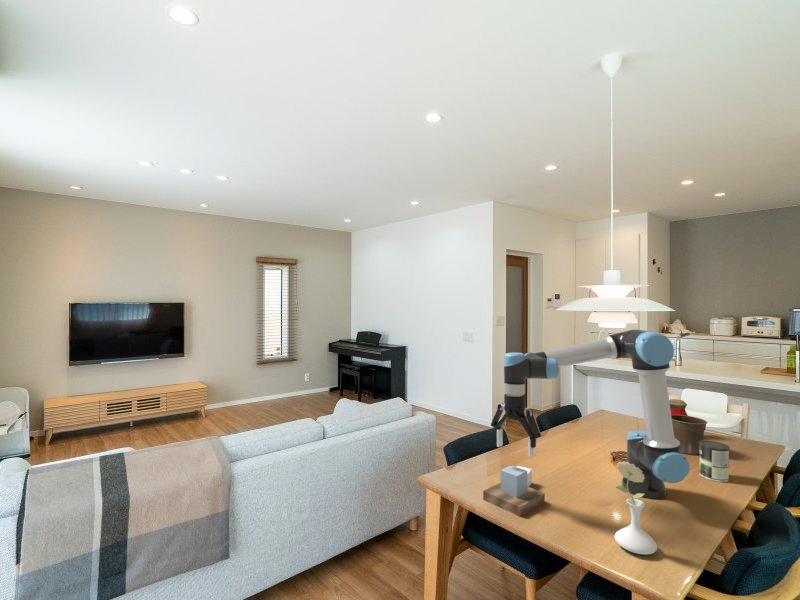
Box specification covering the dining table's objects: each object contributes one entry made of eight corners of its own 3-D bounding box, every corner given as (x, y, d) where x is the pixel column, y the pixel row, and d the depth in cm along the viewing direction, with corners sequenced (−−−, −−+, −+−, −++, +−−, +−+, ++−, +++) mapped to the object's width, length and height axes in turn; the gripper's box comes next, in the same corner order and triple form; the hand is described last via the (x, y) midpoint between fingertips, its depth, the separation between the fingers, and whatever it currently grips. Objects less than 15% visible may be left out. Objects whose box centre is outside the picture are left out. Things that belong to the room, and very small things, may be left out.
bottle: (686, 433, 237) (687, 398, 237) (698, 440, 224) (698, 404, 224) (656, 430, 240) (656, 396, 240) (665, 438, 227) (665, 402, 227)
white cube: (531, 483, 170) (531, 469, 170) (527, 489, 165) (527, 474, 165) (517, 479, 173) (517, 465, 173) (512, 485, 168) (512, 470, 168)
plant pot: (696, 446, 215) (696, 415, 215) (714, 457, 199) (714, 424, 199) (662, 444, 218) (662, 413, 218) (677, 455, 202) (677, 422, 202)
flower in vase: (666, 555, 122) (667, 471, 122) (636, 561, 119) (636, 475, 119) (630, 531, 135) (631, 455, 135) (601, 536, 132) (602, 458, 132)
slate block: (527, 492, 154) (527, 471, 154) (516, 498, 150) (516, 476, 150) (511, 486, 160) (511, 465, 160) (500, 491, 155) (500, 470, 155)
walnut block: (544, 503, 154) (544, 493, 154) (520, 518, 143) (520, 507, 143) (508, 488, 166) (508, 478, 166) (483, 501, 155) (483, 490, 155)
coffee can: (696, 476, 177) (697, 444, 177) (701, 470, 185) (701, 438, 185) (727, 484, 170) (727, 450, 170) (730, 477, 177) (731, 444, 177)
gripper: (550, 398, 148) (551, 457, 148) (493, 387, 167) (493, 440, 167) (539, 401, 143) (539, 463, 143) (481, 390, 162) (482, 444, 162)
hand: (514, 450), depth 155 cm, fingers open, 13 cm apart
